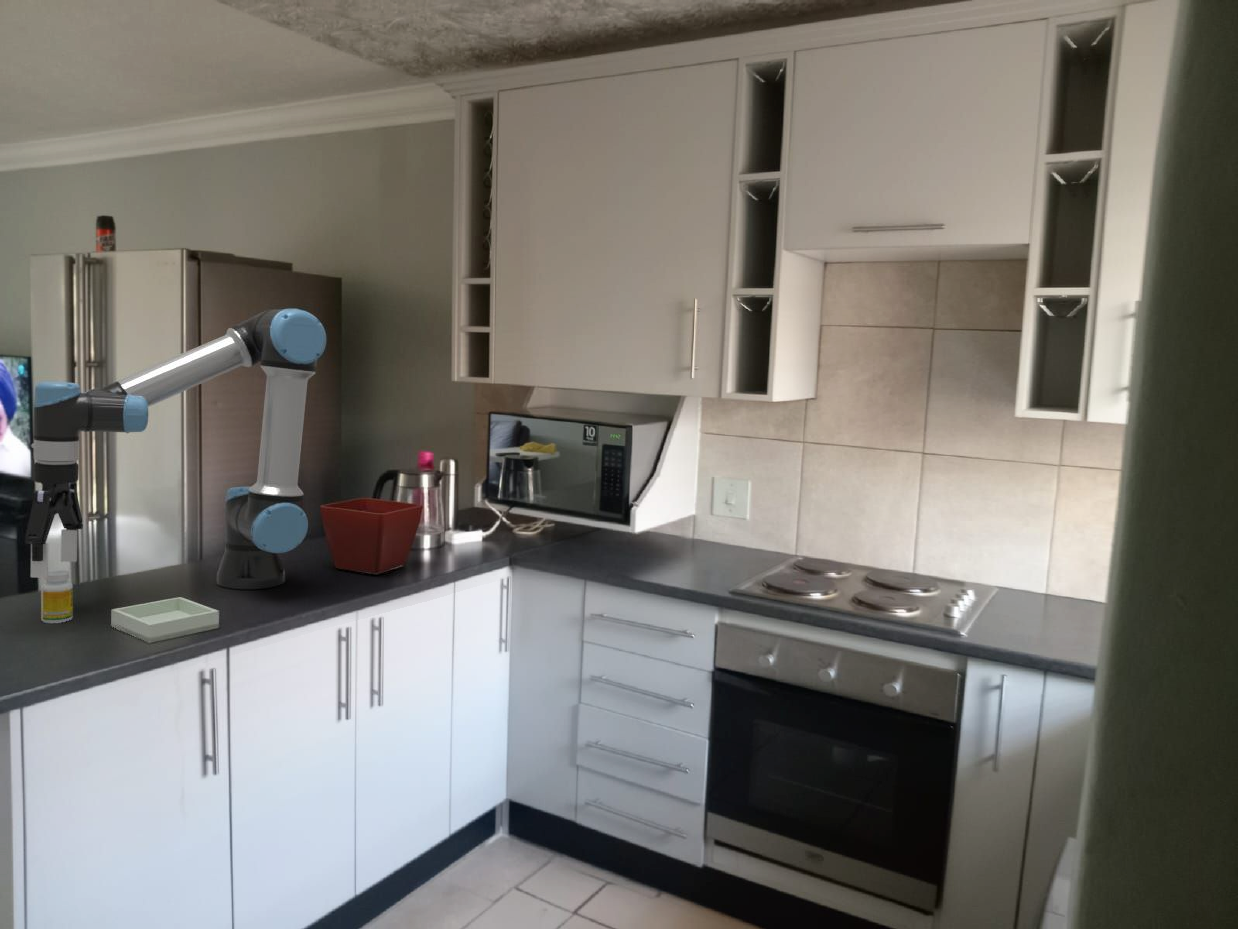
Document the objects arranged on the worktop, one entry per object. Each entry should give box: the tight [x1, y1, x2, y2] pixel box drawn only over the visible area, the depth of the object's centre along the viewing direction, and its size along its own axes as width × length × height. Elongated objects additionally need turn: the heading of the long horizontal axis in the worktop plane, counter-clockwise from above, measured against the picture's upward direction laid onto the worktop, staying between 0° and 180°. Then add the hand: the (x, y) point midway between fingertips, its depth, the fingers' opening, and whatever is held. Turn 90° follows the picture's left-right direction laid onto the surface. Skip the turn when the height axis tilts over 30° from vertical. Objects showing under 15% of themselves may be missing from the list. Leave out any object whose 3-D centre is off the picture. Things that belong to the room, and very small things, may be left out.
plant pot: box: [319, 497, 423, 573], centre depth 238 cm, size 19×19×17 cm
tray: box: [110, 596, 220, 644], centre depth 181 cm, size 14×14×4 cm
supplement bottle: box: [40, 570, 74, 624], centre depth 181 cm, size 5×5×10 cm
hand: (54, 569), depth 180 cm, fingers open, 13 cm apart
